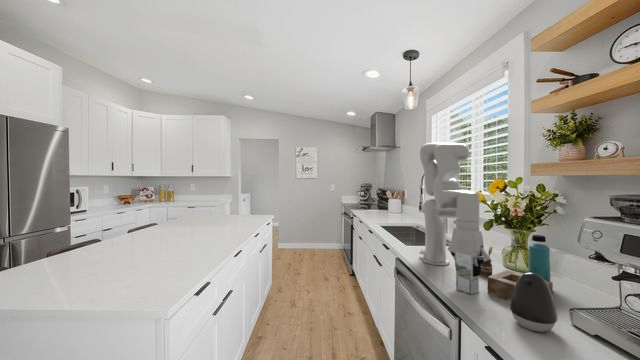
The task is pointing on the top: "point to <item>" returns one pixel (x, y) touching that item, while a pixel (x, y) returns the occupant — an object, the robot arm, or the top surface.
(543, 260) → the beverage bottle
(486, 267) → the brown jar with stick
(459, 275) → the syrup box
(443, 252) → the robot arm
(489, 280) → the wooden tray
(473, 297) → the top surface
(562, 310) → the top surface
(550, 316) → the dark grey egg shape
